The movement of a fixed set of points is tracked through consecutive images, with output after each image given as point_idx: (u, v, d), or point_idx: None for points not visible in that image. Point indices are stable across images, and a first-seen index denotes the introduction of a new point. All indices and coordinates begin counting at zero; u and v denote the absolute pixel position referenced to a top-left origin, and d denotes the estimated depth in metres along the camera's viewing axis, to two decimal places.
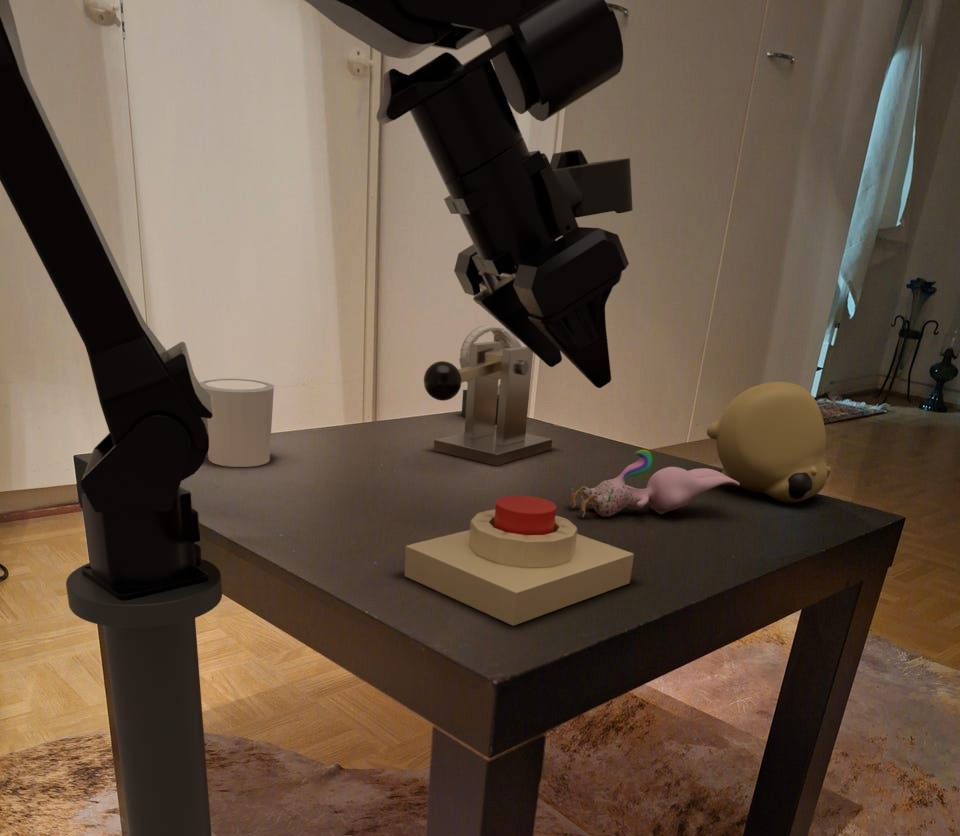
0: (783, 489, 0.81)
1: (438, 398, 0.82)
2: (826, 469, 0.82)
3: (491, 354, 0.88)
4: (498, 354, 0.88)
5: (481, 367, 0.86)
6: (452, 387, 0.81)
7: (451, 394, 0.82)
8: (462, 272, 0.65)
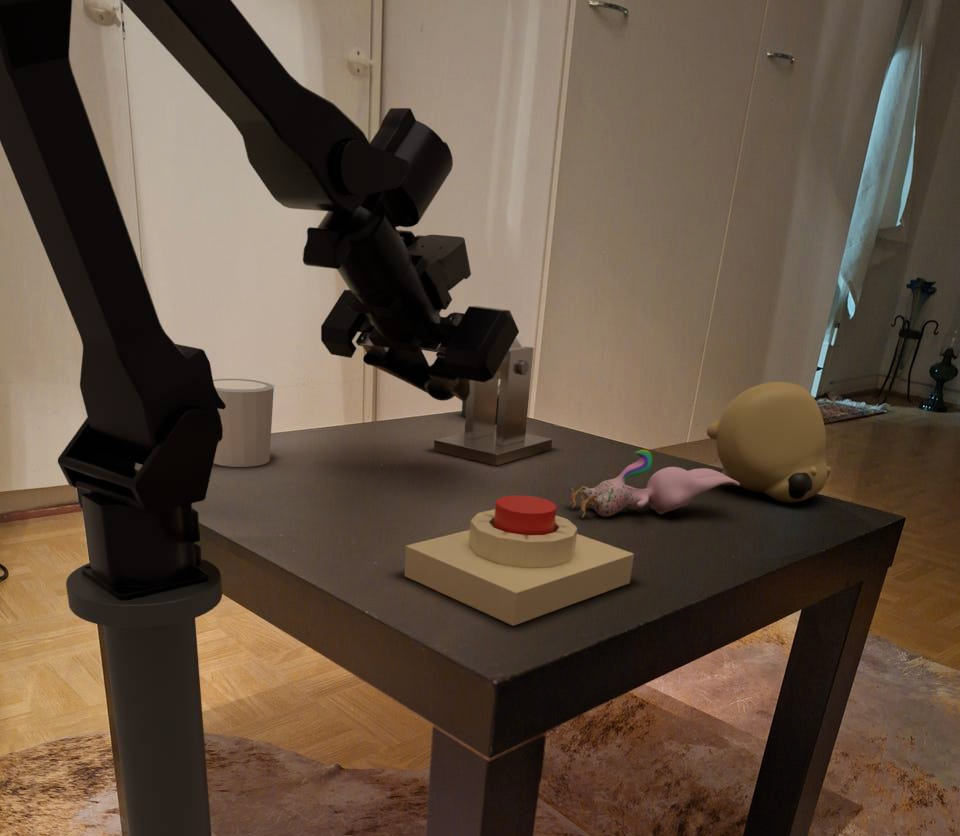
0: (783, 489, 0.81)
1: (438, 398, 0.82)
2: (826, 469, 0.82)
3: None
4: None
5: None
6: None
7: (451, 394, 0.82)
8: (341, 343, 0.79)
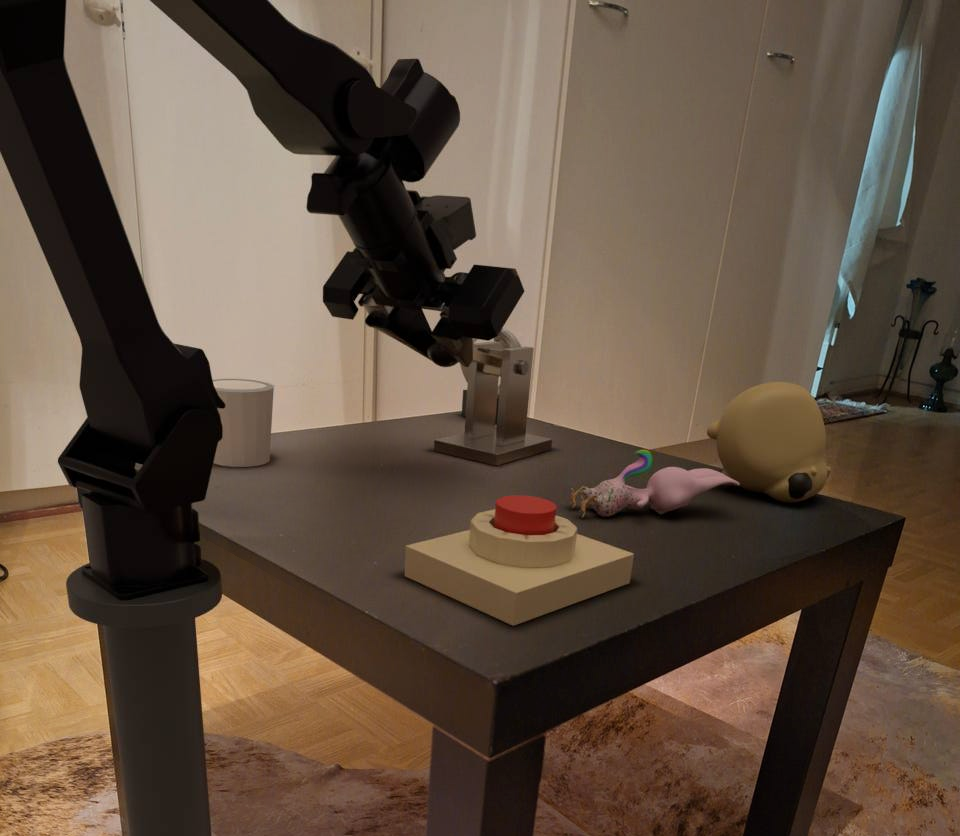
0: (783, 489, 0.81)
1: (439, 361, 0.81)
2: (826, 469, 0.82)
3: (493, 350, 0.89)
4: (500, 350, 0.88)
5: (483, 353, 0.86)
6: None
7: (453, 358, 0.81)
8: (342, 303, 0.78)
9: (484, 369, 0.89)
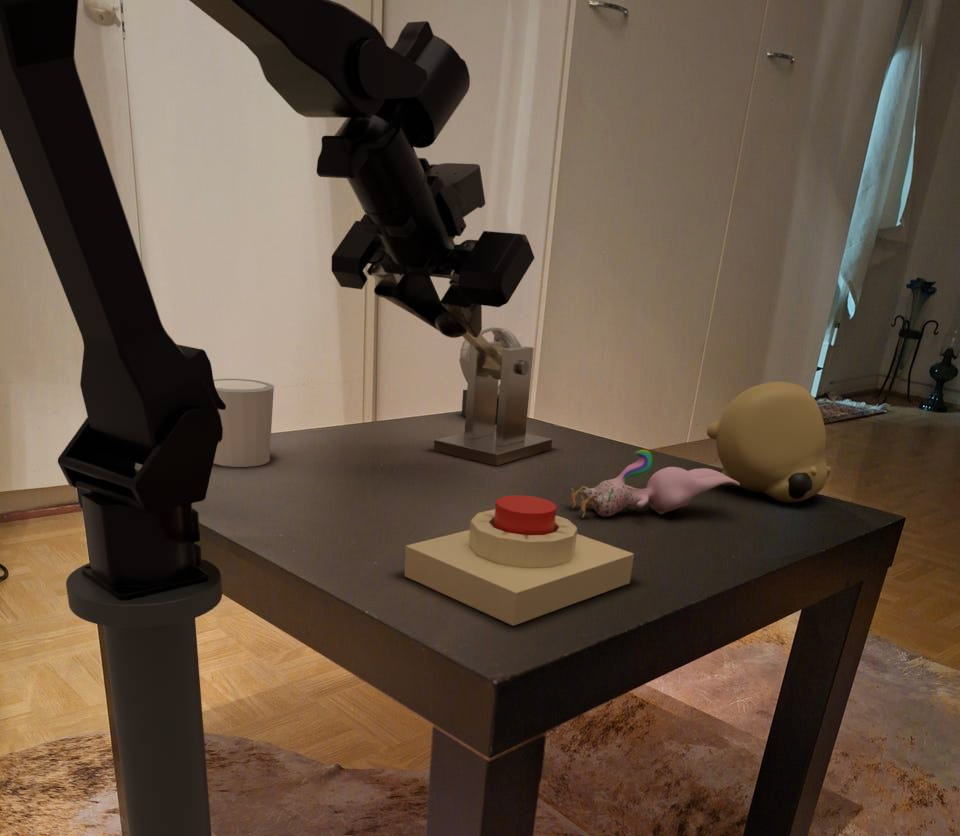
0: (783, 489, 0.81)
1: (445, 326, 0.80)
2: (826, 469, 0.82)
3: (496, 347, 0.89)
4: (503, 348, 0.89)
5: (487, 342, 0.86)
6: None
7: (460, 326, 0.80)
8: (351, 272, 0.77)
9: (484, 365, 0.89)
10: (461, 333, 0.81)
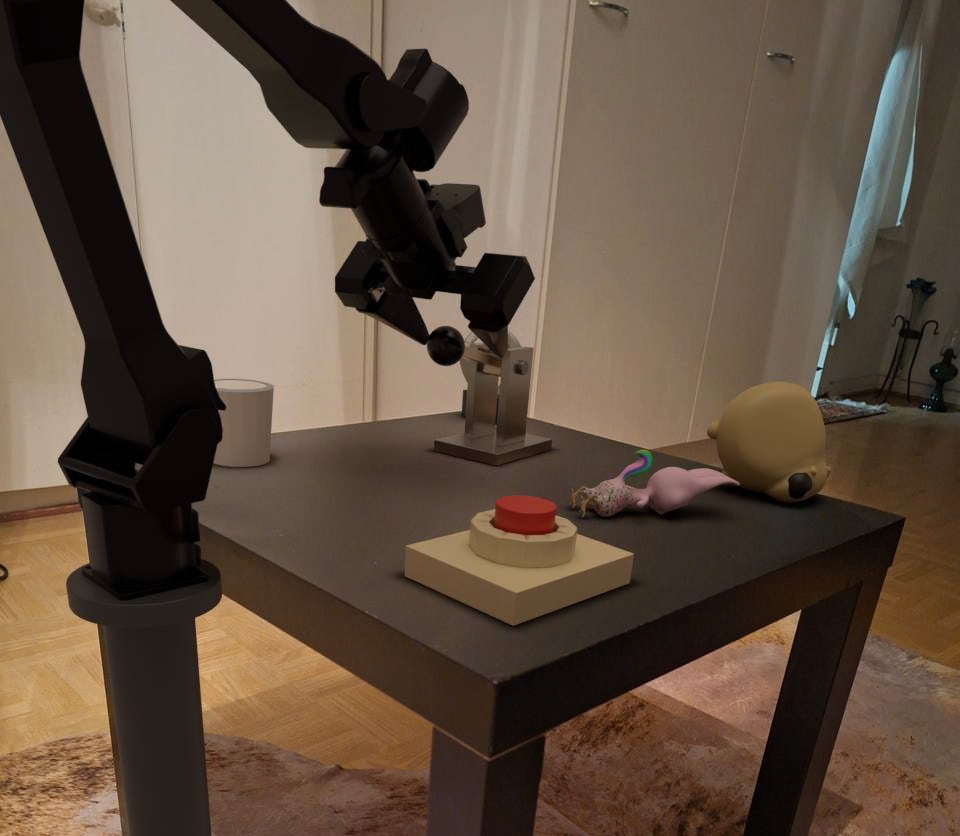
0: (783, 489, 0.81)
1: (439, 359, 0.81)
2: (826, 469, 0.82)
3: None
4: None
5: (483, 353, 0.86)
6: (455, 350, 0.80)
7: (453, 357, 0.81)
8: (355, 293, 0.78)
9: (484, 369, 0.89)
10: (455, 362, 0.81)
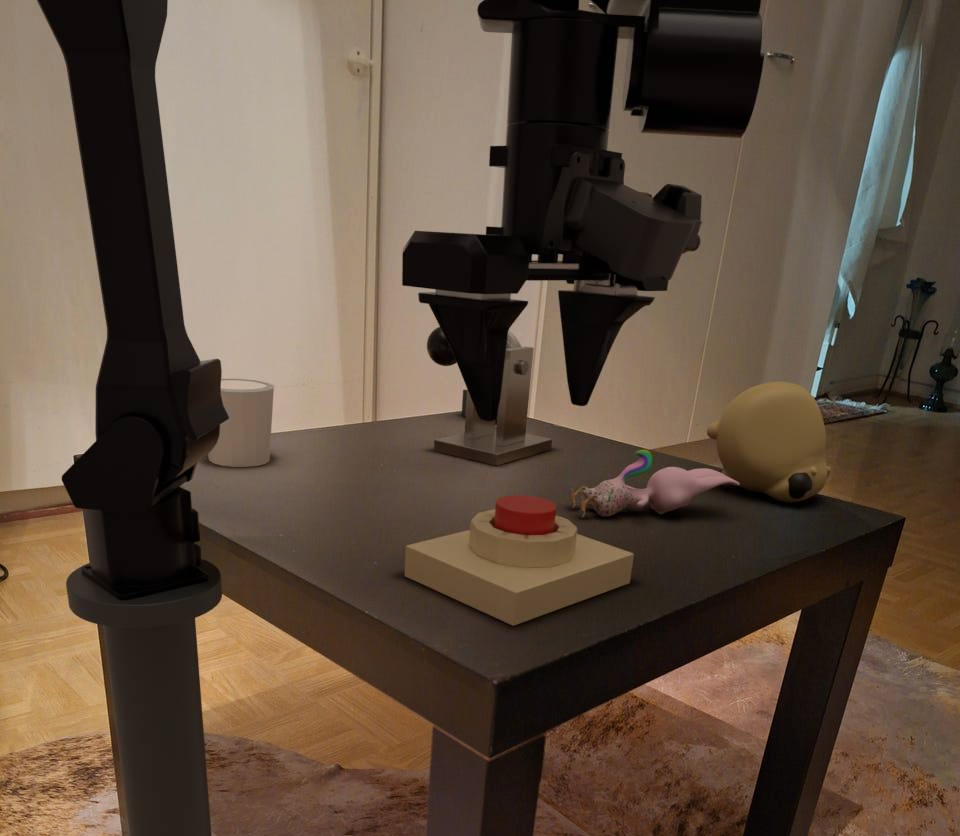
0: (783, 489, 0.81)
1: (439, 359, 0.81)
2: (826, 469, 0.82)
3: None
4: None
5: None
6: None
7: (453, 357, 0.81)
8: None
9: None
10: (455, 362, 0.81)
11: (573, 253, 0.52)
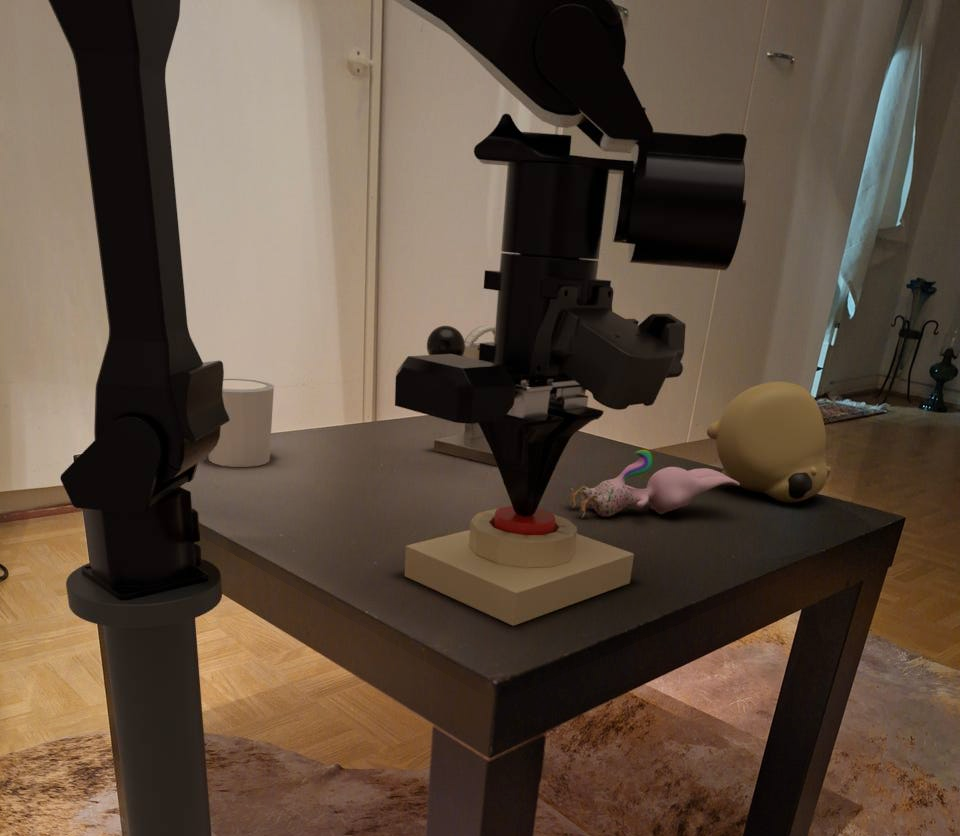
0: (783, 489, 0.81)
1: None
2: (826, 469, 0.82)
3: None
4: None
5: None
6: (455, 350, 0.80)
7: None
8: None
9: None
10: None
11: None
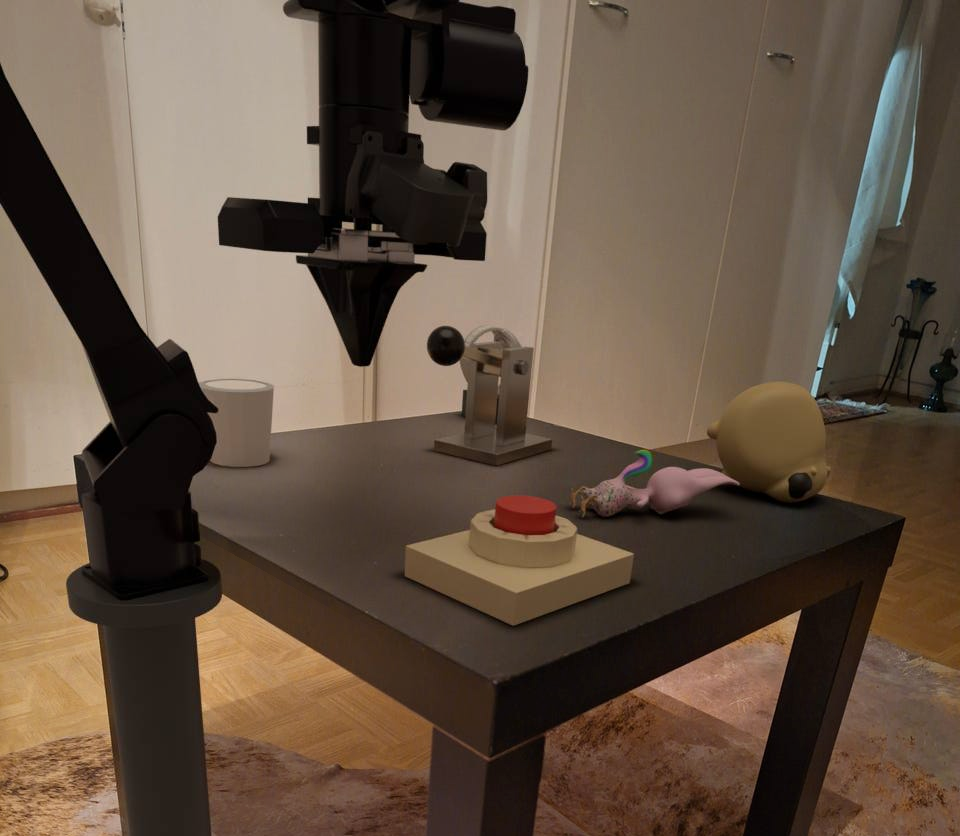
0: (783, 489, 0.81)
1: (439, 359, 0.81)
2: (826, 469, 0.82)
3: (493, 350, 0.89)
4: None
5: (483, 353, 0.86)
6: (455, 350, 0.80)
7: (453, 357, 0.81)
8: None
9: (484, 369, 0.89)
10: (455, 362, 0.81)
11: None
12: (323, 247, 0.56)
